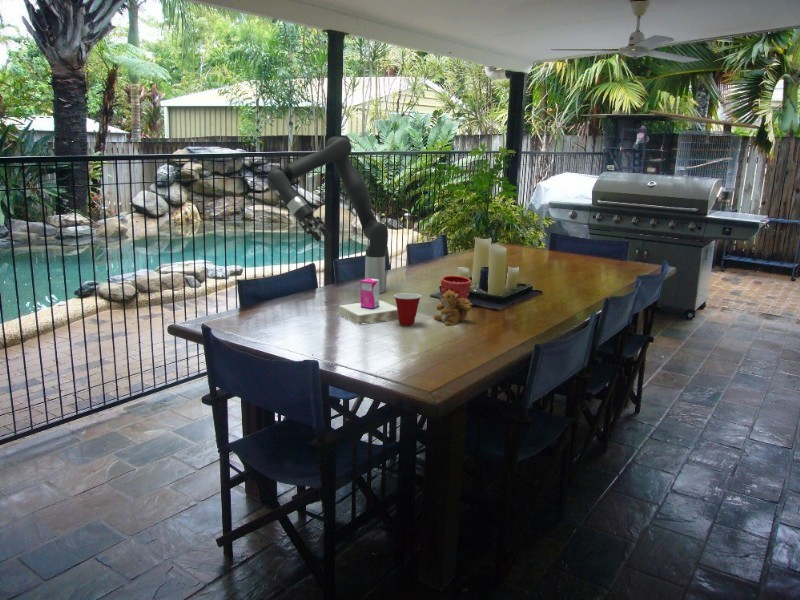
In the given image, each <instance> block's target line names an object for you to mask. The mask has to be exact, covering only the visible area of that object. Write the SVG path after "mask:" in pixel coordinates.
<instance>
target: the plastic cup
mask: <svg viewBox="0 0 800 600" xmlns="http://www.w3.org/2000/svg"><path fill="white" fill-rule="evenodd" d="M393 297H394V299H395V304H396V307H397V312H398V318H399V319H398V323H400V324H401V325H400V324H399V325H400V326H403V325H406V326H405V327H411V326H410V325H412V326H413V325H414V323H415V321H416V316H417V312H418V308H419V305H420V304H419V303H420V300H421V298H422V295H421V294H419V293H406V292H405V293H403V292H402V293H396V294H394V295H393Z"/></svg>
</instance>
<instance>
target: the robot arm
mask: <svg viewBox="0 0 800 600" xmlns="http://www.w3.org/2000/svg"><path fill="white" fill-rule="evenodd" d="M325 144H326V145H325V147H324V148H323V149H321V150H318V151H316V152H313V153H310V154H308V155H307V154H306V155H305V156H301V157H299V158H297V159H295V160H293V161H291V162H289V163H288V164H286V165H285V167H284V169H282V170H281V169H279V168H271V169H270V170H269V171H268V173H267V187H268V188H269V189H271V190H272V191H277V192H278V194H279V198H280V199H281V201H282V203H284V204H285V206H286V207H287V208H288V210H289V212H290V213H291V214H292V216H293V217H294V218H295V219H296V220H297V221H298V222H299V225H300V227H301V228H302V230H304V232H305V233H306V235H308V236H309V235H310V236H312V237H313V238H314V239H315V241H316V242H320V241H321V240H322V236H320V234H319V233H318V232H317V231H319V232H320V233H322V235H323V236H324V237H325V239H327V240H328V239H330V238H331V236H332V235H331V234H330V233H329V231H328V229H327V228H328V226H327V225H326V223H325V222H324V221H323V220H322V219H321V218H320V216H317V217H315V216H314V213H315V212H314V210H313V209H312V207H311V206H310V205H309V204H308V203H307V201H306V200H305V199H304V198H303V197H302V196H301V195H300V194H299V193H298V192H297V190H296V188H294V187H293V185H292V184H291V183H293V181H295V180H297V179H298V178H301V177H303V176H305V175H307V174H308V173H310V172H312V171H314V170H316V169H318V168H320V167H322V166H324V165H326V164H330V163H333V165H334V166H335V168H336V170H337V173H338V175H339V178H340V180H341V182H342V184H343V188H344V189H345V191H346V194H347V197H348V199H349V200H350V203H351V204H352V207H353V208H354V211H355V213H356V215H357V217H358V220H359V222H360V226H361V229H362V232H363V235H364V236H365V237H366V239H368V240H369V244H368V248H367V249H366V250H365V264H364V266H365V267H364V279H367V278H370V279H378V280H379V294H383V293H385V292H387V272H386V252H387V250H388V244H389V243H388V242H389V241H388V240H389V229H388V227H387V225H386V224H385V223H384V222H383V223H382V222H380V221H378V220H377V218H376V216H375V214H374V212H373V210H372V205H371V196H370V191H369V188H368V187H367V185H366V182H365V181H364V179H363V177H362V176H361V174H360V173H359V172H358V171H357V169H356V168H355V167H354V165H353V164H352V161H351V159H350V157H349V156H350V154H351V153H352V150H353V147H352V142H350V140H349V139H348V138H345V137H343V136H331V137H330V138H328V139H327V141H326V143H325Z"/></svg>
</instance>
